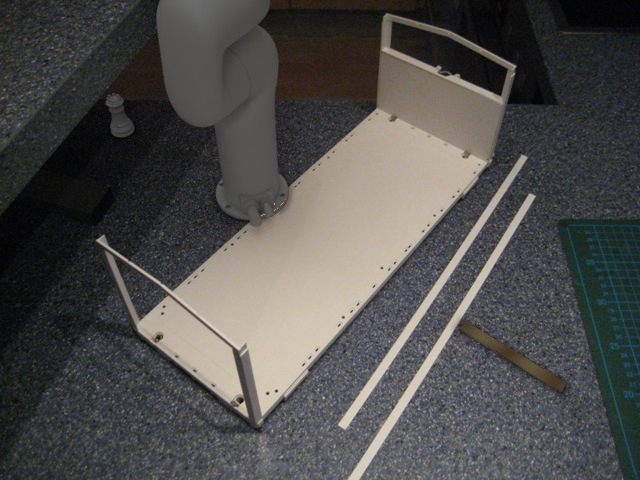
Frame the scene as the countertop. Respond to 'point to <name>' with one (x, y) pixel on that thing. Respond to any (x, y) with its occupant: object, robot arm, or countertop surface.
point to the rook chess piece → (119, 117)
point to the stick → (513, 357)
